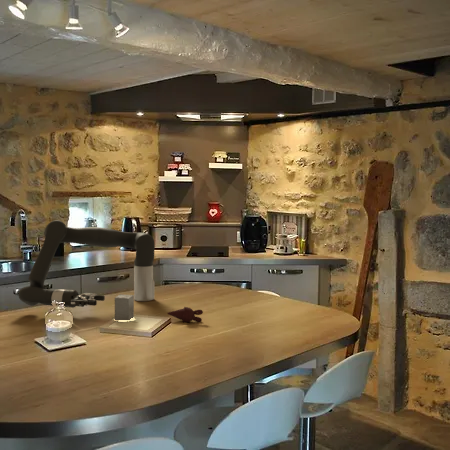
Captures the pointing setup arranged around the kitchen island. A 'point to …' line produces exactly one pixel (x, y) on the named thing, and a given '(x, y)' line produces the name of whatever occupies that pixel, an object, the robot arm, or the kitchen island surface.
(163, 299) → the kitchen island surface
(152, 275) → the robot arm
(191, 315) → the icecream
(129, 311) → the grey block
